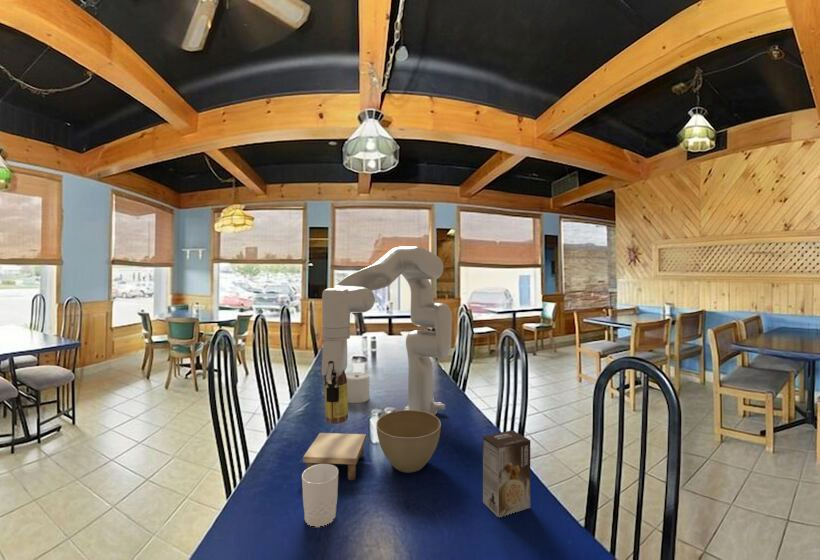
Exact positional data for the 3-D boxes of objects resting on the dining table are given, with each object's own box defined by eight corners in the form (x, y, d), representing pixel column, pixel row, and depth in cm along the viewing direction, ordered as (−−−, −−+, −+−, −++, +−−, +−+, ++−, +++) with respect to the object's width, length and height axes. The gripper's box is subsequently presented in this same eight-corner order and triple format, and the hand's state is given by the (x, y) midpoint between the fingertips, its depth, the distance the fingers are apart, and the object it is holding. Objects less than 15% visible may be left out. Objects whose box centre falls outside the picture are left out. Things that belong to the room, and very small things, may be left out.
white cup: (306, 506, 85) (305, 464, 85) (340, 504, 86) (340, 462, 85) (298, 530, 77) (298, 484, 77) (336, 528, 78) (336, 482, 78)
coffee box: (512, 493, 90) (513, 428, 90) (531, 508, 85) (532, 440, 84) (481, 502, 87) (482, 435, 86) (498, 519, 81) (499, 447, 80)
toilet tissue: (373, 400, 154) (373, 376, 153) (347, 406, 147) (347, 381, 147) (362, 393, 163) (362, 370, 162) (336, 398, 156) (336, 375, 156)
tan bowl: (368, 456, 108) (368, 415, 108) (423, 444, 115) (423, 406, 115) (389, 490, 91) (389, 442, 91) (452, 474, 99) (452, 429, 98)
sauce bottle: (351, 416, 104) (351, 347, 104) (343, 425, 98) (343, 352, 98) (329, 414, 106) (329, 346, 105) (320, 423, 100) (320, 351, 99)
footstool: (366, 454, 109) (366, 434, 109) (356, 481, 95) (356, 458, 95) (319, 452, 110) (319, 432, 110) (303, 479, 96) (303, 456, 96)
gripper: (331, 327, 110) (331, 386, 111) (312, 338, 93) (312, 408, 93) (356, 328, 110) (356, 387, 110) (341, 339, 92) (341, 409, 93)
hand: (336, 396), depth 102 cm, fingers closed on sauce bottle, 6 cm apart
